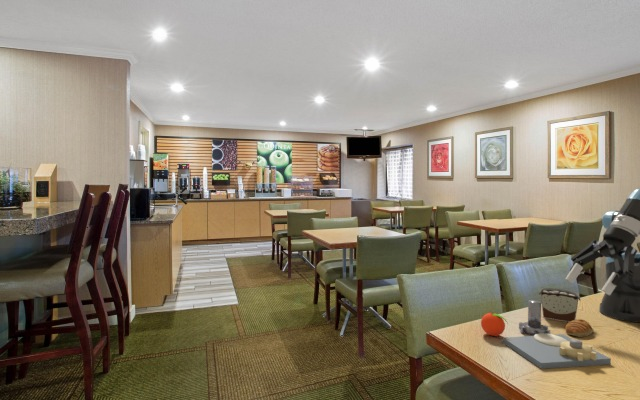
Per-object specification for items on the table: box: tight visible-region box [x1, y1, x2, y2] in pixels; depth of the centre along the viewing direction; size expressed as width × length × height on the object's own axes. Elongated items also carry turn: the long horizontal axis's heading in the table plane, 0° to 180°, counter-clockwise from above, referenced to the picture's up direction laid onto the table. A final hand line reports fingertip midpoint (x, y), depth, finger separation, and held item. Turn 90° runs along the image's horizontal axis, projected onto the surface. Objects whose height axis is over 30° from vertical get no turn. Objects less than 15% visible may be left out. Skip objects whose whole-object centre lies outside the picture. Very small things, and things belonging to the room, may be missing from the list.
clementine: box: [480, 312, 509, 337], centre depth 113 cm, size 8×7×7 cm
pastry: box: [565, 318, 594, 338], centre depth 115 cm, size 9×7×4 cm
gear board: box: [502, 333, 612, 370], centre depth 101 cm, size 20×18×5 cm
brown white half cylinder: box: [538, 287, 581, 323], centre depth 129 cm, size 12×6×10 cm, turn 58°
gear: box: [518, 299, 551, 336], centre depth 116 cm, size 9×8×10 cm
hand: (586, 286), depth 114 cm, fingers open, 13 cm apart
